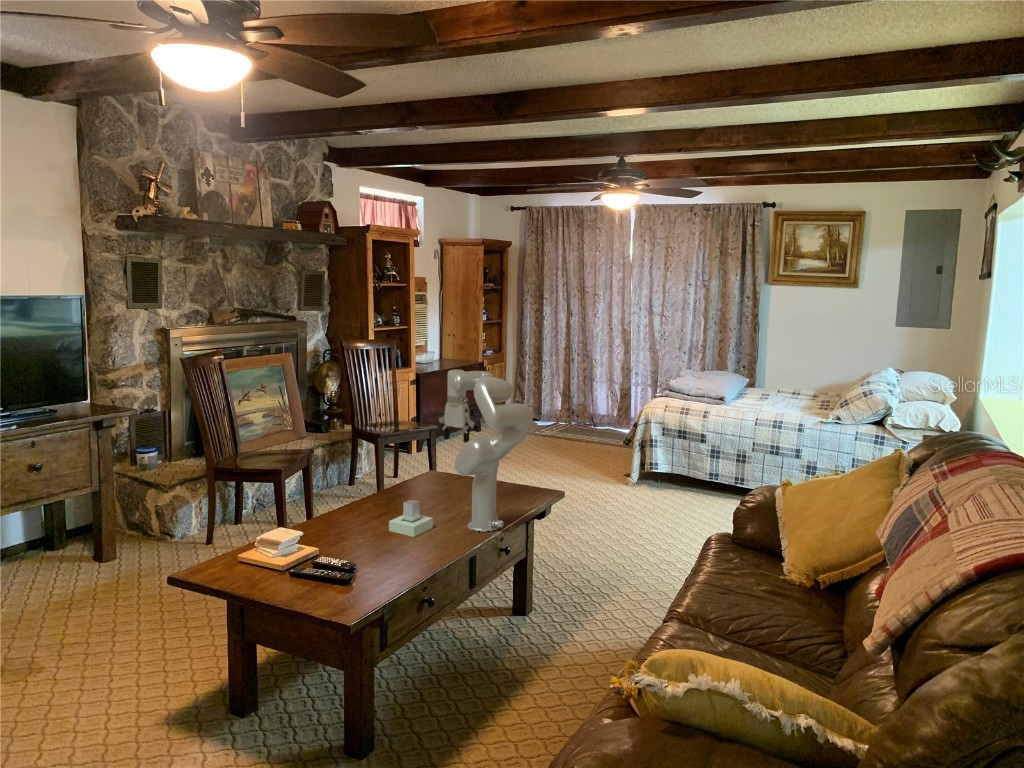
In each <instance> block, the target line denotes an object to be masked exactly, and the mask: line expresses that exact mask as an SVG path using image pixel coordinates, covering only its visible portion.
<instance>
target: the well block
mask: <svg viewBox="0 0 1024 768" xmlns="http://www.w3.org/2000/svg"><path fill="white" fill-rule="evenodd" d="M419 516H420V520H418V521H416V522H414V523H410V522H406V521H403V514H402V515H400V516H397V517H395V518H393V519H391V520H389V521H388V525H389V526H388V527H389V528H388V530H389V532H392V533H396V534H401V535H405V536H409V537H413V538H414V537H416V536H419V535H421V534H424V533H425V532H427V531H429V530H431V529H433V528H434V517H431V516H426V515H422V514H419Z"/></svg>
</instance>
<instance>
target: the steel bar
mask: <svg viewBox="0 0 1024 768" xmlns="http://www.w3.org/2000/svg"><path fill="white" fill-rule="evenodd" d="M402 505H403V509H402V511H403V513H402V515H403V521H406V522H410V523H414V522H416V521H418V520H420V516H419V515H420V501H419V500H413V499H409V500H407V501H404V502H403V504H402Z"/></svg>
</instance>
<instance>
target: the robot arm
mask: <svg viewBox="0 0 1024 768" xmlns="http://www.w3.org/2000/svg"><path fill="white" fill-rule="evenodd" d="M467 391H473V397H474V400H475V403H476V405H477V407H478V409H479V412H480V413H481V416H482V417H483V420H484V422H485V423H486V425H487V427H489V428H491V429H492V430H493V429H494V430H498V429H499V430H498V431H497V432H496V433H495V434H494V435H493V436H487V437H480V438H475V439H471V440H470V433H471V431H472V430H473V429H474V427H475V425H476V423H475V422H474V421H473V420H472V419H471V418H470V408H469V405H468V403H467V402H469V399H468V397H467ZM513 393H514V388H513V386H512V384H511V383H510V382H509V381H507V380H505V379H503V378H499V377H495V376H493V374H492V373H491V372H488V371H484V370H471V371H465V370H463V369H450V370H448V372H447V394H446V395H447V402H445V403H446V404H445V408H444V416H441V417H440V418H438V422H439V425H440V426H441V428H442V431H443V440H448V439H450V433H451V430H450V428H451V427H453V428H457V429H458V428H459V429H461V430H463V441H462V442H463V443H465V444H466V445H464V446H463V448H462V449H460V451H458V453H457V454H456V457H455V460H454V469H455V471H456V472H457V474H459V475H460V476H463V477H468V476H474V477H473V479H472V484H471V521H469V522H468V523H467V528H468V529H469V530H471V531H473V530H474V532H478V531H480V533H488V532H487V531H490V532H494V531H493V530H495V531H496V530H498V529H500V528H501V529H502V528H503V527H504V524H505V523H504V520H500V519H499V515H497V479H498V471H499V465H500V461H501V460H503V459H504V458H505V457H506V456H507V455H508V454H509V453H510V452H511V451H512V450H514V448H516V446H517V445H519V444H520V443H522V441H524V440H525V439H526V437H527V436H528V435H529V433H530V431H531V429H532V427H533V421H534V417H533V411H532V409H531V407H529V406H528V405H527V404H524V403H519V402H518V403H507V404H506V403H505V402H507V401H508V400H509V399H511V398H512V396H513V395H514V394H513ZM502 402H504V403H505V404H496V403H502Z"/></svg>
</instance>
